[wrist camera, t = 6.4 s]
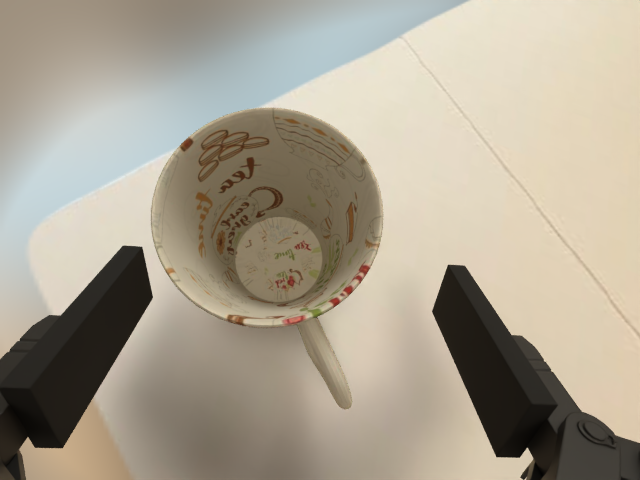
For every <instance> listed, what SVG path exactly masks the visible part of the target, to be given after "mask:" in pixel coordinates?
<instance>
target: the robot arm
mask: <svg viewBox="0 0 640 480" xmlns="http://www.w3.org/2000/svg"><path fill="white" fill-rule="evenodd" d="M152 298H153V296H152V291H151V286H150V282H149V277H148V272H147V267H146V263H145V258H144V253H143V249H142V247H137V246H122V247H121V249H120V250H119V251H118V252H117V253H116V254H115V255H114V256H113V258H112V259H111V260H110V261H109V262H108V263H107V264H106V265H105V267H104V268H103V269H102V270H101V271H100V272H99V273H98V274H97V276H96V277H95V278H94V279H93V280H92V281H91V282H90V283H89V285H88V286H87V287H86V288H85V289H84V290H83V291H82V292H81V294H80V295H79V296H78V297H77V298H76V299H75V300H74V301H73V303H72V304H71V305H70V306H69V307H68V308H67V309H66V310H65V312H64V313H63V314H62V315H61V316H55V315H49V316H47V317H46V318H44V319H42V320H41V321H39V322H38V323H36V324H35V325H33V326H32V327H31V328H30V329H29V330H28V331H27V332H26V333H25V334H24V335H23V336H22V337H21V338H20V341H18V342H16V344H15V345H14V346H13V347H12V348H11V349H10V351H9V352H7V353H6V354H5V355H4V356H3V357H2V358H1V359H0V480H26V477H25V470H24V464H23V458H22V454H21V453H20V451H19V448H20V447H21V446H22V444H23V443H24V441H25V440H26V438H27V437H29V439H30V440H31V442H32V444H33V445H34V447H35V448H63V447H64V445H65V443H66V442H67V440H68V438H69V437H70V435H71V433H72V432H73V430H74V429H75V427H76V425H77V423H78V422H79V420H80V419H81V417H82V415H83V413H84V412H85V410H86V409H87V407H88V405H89V403H90V402H91V400H92V398H93V397H94V395H95V393H96V392H97V390H98V388H99V387H100V385H101V383H102V382H103V380H104V378H105V377H106V375H107V373H108V372H109V370H110V368H111V367H112V365H113V363H114V362H115V360H116V358H117V357H118V355H119V353H120V352H121V350H122V348H123V347H124V345H125V343H126V342H127V340H128V338H129V337H130V335H131V333H132V332H133V330H134V328H135V327H136V325H137V323H138V322H139V320H140V318H141V317H142V315H143V313H144V312H145V310H146V308H147V307H148V305H149V303H150V302H151V300H152ZM432 312H433V315H434V317H435V319H436V321H437V324H438V326H439V328H440V330H441V333H442V335H443V337H444V339H445V342H446V344H447V346H448V348H449V351H450V353H451V355H452V357H453V360H454V362H455V364H456V367H457V369H458V371H459V373H460V376H461V378H462V380H463V382H464V385H465V387H466V389H467V391H468V394H469V396H470V398H471V400H472V403H473V405H474V407H475V409H476V412H477V414H478V416H479V419H480V421H481V423H482V425H483V428H484V430H485V432H486V434H487V437H488V439H489V441H490V443H491V446H492V448H493V450H494V452H495V455H496V457H515V458H520V457H521V455H522V454H523V452H524V451H525V450H526V448H527V447H528V449H529V451H530V452H531V454H532V456H533V458H534V459H533V461H532V462H531V463H530V464H529V466H528V467H527V468H526V470H525V471H524V472H523V474H522V475H521V477H520V478H522V479H523V480H524V479H525V478H526V477H527V479H526V480H640V443H637V442H634V441H631V440H628V439H625V438H622V437H618V436H616V435H615V434H614V433H613V431H612V430H611V429H610V428H608V427H607V426H606V425H605V424H604V423H603V422H601V421H600V420H598V419H597V418H595V417H594V416H591V415H589V414H587V413H584V412H582V411H581V410H580V409H579V408H578V406H577V405H576V403H575V402H574V401H573V399H572V398H571V396H570V395H569V394H568V392H567V391H566V389H565V388H564V387H563V385H562V384H561V383H560V381H559V380H558V378H557V377H556V376H555V374H554V373H553V372H551V369H550V367H549V366H548V365H547V363H546V362H544V359H543V358H542V356H541V355H540V353H539V352H538V351H537V349H536V348H535V347H534V346H533V345H532V344H531V343H530V342H528V341H527V340H526V339H525V338H524V337H522V336H516V335H511V334H510V332H509V331H508V329H507V328H506V326H505V325H504V323H503V322H502V320H501V319H500V317H499V316H498V314H497V313H496V311H495V310H494V308H493V307H492V305H491V304H490V302H489V301H488V300H487V298H486V297H485V295H484V294H483V292H482V291H481V289H480V288H479V286H478V285H477V283H476V282H475V280H474V279H473V277H472V276H471V274H470V273H469V271H468V270H467V268H466V267H465V266H460V265H448V267H447V269H446V272H445V275H444V278H443V281H442V284H441V287H440V290H439V293H438V296H437V299H436V302H435V305H434V307H433V310H432Z"/></svg>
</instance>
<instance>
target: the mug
mask: <svg viewBox="0 0 640 480" xmlns="http://www.w3.org/2000/svg"><path fill="white" fill-rule="evenodd" d="M151 228H152V235H153V240H154V245H155V248H156V251H157V254H158V257H159V259H160V262H161V264H162V266H163V267H164V269H165V271H166V273H167V274H168V276H169V277H170V279H171V280H172V282H173V283H174V284H175V285H176V287H177V288H178V289H179V290H180V291H181V292H182V293H183V294H184V295H185V296H186V297H187V298H188V299H189V300H190V301H191V302H193V303H194V304H195V305H197V306H198V307H199V308H201V309H203V310H204V311H206V312H207V313H209V314H211V315H213V316H215V317H217V318H220V319H222V320H225V321H228V322H231V323H234V324H238V325H242V326H249V327H258V328H275V327H284V326H290V325H295V324H297V326H298V329H299V331H300V334H301V336H302V339H303V342H304V344H305V347H306V350H307V352H308V354H309V356H310V358H311V359H312V361H313V363H314V364H315V366H316V368H317V369H318V371H319V372H320V374H321V376H322V377H323V379H324V381H325V382H326V384H327V386H328V388H329V390H330V392H331V394H332V396H333V397H334V399H335V401H336V403H337V404H338V405H339V406H340V407H341V408H343V409H349V408H350V407H351V404H352V397H351V392H350V389H349V386H348V383H347V381H346V378H345V376H344V373H343V371H342V369H341V366H340V364H339V362H338V360H337V358H336V356H335V353H334V351H333V349H332V347H331V345H330V343H329V341H328V339H327V337H326V335H325V333H324V330H323V328H322V326H321V324H320V322H319V320H318V318H317V317H318V316H320V315H322V314H324V313H325V312H327V311H329V310H331V309H332V308H334V307H335V306H337V305H338V304H339V303H341V302H342V301H343V300H344V299H346V298H347V297H348V296H349V295H350V294H351V293H352V292H353V291H354V290H355V289H356V287H357V286H358V285H359V284H360V283H361V281H362V280H363V278H364V277H365V276H366V274H367V272H368V271H369V269H370V267H371V265H372V263H373V261H374V259H375V256H376V254H377V251H378V248H379V244H380V240H381V235H382V229H383V205H382V198H381V193H380V189H379V186H378V183H377V180H376V177H375V175H374V173H373V171H372V169H371V167H370V165H369V163H368V162H367V160H366V158H365V157H364V156H363V154H362V153H361V152H360V150H359V149H358V148H357V147H356V146H355V145H354V143H353V142H352V141H350V140H349V139H348V138H347V137H346V136H345V135H344V134H343V133H341V132H340V131H339V130H337V129H336V128H334V127H333V126H331V125H330V124H328V123H326V122H324V121H322V120H320V119H318V118H316V117H313V116H311V115H308V114H305V113H302V112H298V111H294V110H289V109H282V108H255V109H247V110H243V111H238V112H234V113H231V114H228V115H225V116H223V117H220V118H218V119H216V120H214V121H212V122H210V123H208V124H206V125H205V126H203V127H201V128H200V129H198V130H197V131H196V132H194V133H193V134H192V135H191V136H189V137H188V138H187V139H186V140H185V141H184V142H183V143H182V144H181V145H180V146H179V147H178V148H177V149H176V151H175V152H174V153H173V155H172V156H171V157H170V159H169V160H168V162H167V163H166V165H165V167H164V168H163V171H162V173H161V175H160V177H159V179H158V182H157V185H156V188H155V191H154V196H153V200H152V208H151Z"/></svg>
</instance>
